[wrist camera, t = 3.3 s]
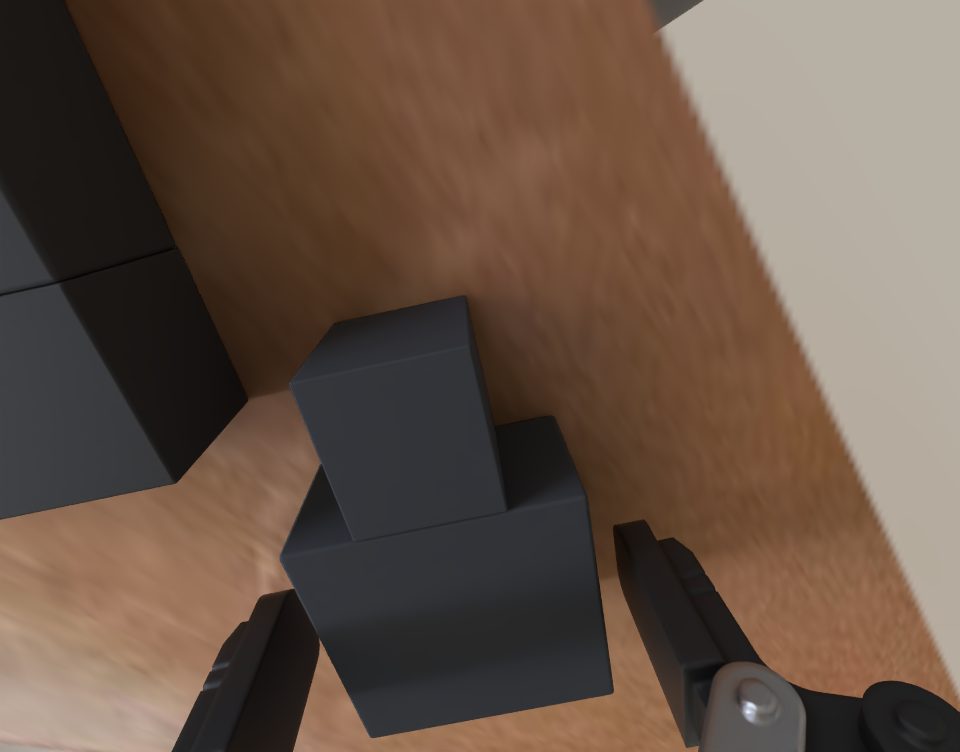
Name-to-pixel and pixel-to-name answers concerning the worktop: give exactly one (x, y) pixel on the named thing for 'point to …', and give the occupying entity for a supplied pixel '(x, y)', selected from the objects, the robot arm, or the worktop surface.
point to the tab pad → (440, 532)
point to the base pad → (90, 292)
